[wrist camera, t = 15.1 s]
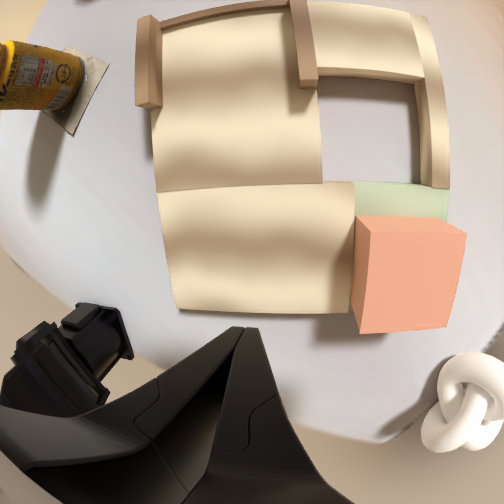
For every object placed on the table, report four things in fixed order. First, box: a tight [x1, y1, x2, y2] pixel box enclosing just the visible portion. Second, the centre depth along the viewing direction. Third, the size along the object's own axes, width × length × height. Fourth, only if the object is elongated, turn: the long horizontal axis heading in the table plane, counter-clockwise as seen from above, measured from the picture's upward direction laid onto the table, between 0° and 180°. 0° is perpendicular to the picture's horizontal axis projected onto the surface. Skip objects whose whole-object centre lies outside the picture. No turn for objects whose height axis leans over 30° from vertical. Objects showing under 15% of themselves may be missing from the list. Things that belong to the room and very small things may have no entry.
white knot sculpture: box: [421, 352, 504, 453], centre depth 17 cm, size 11×12×9 cm
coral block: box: [350, 216, 467, 334], centre depth 15 cm, size 6×6×4 cm
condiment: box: [0, 41, 109, 134], centre depth 12 cm, size 7×8×12 cm
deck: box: [151, 2, 450, 314], centre depth 16 cm, size 22×20×2 cm
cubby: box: [135, 0, 318, 109], centre depth 13 cm, size 7×11×2 cm, turn 94°
